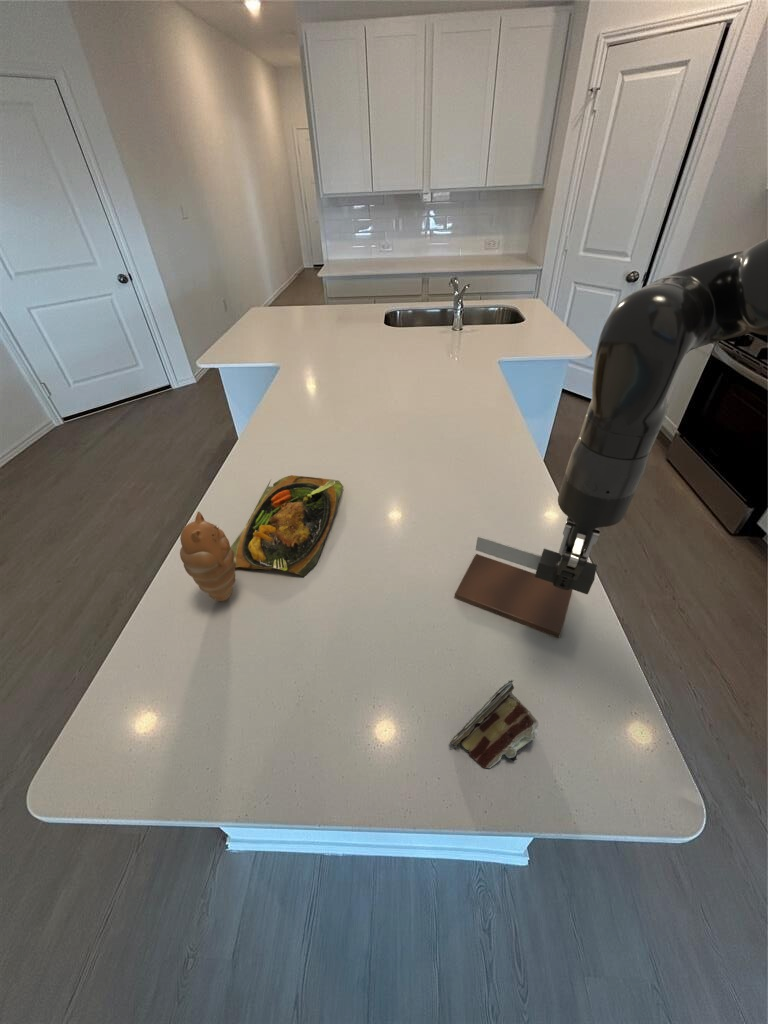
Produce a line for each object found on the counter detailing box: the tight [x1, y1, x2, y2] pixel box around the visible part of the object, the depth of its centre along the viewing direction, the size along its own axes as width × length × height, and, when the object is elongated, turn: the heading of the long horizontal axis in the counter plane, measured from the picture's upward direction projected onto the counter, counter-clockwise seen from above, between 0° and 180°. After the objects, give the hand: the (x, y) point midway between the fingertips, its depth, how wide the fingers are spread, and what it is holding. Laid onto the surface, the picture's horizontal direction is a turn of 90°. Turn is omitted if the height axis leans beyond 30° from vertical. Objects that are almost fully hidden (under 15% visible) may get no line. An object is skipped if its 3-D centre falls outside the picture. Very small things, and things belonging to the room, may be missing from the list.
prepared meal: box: [230, 474, 344, 577], centre depth 93 cm, size 28×4×18 cm
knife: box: [474, 535, 598, 595], centre depth 61 cm, size 16×3×3 cm, turn 63°
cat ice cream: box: [179, 511, 236, 602], centre depth 73 cm, size 9×8×18 cm
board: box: [454, 553, 573, 639], centre depth 78 cm, size 18×11×1 cm, turn 62°
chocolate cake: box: [449, 679, 539, 769], centre depth 59 cm, size 10×7×12 cm
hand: (563, 576), depth 61 cm, fingers closed on knife, 3 cm apart
